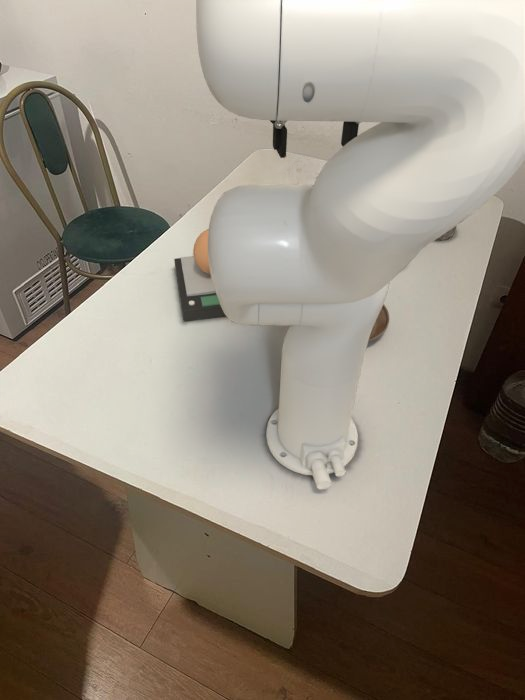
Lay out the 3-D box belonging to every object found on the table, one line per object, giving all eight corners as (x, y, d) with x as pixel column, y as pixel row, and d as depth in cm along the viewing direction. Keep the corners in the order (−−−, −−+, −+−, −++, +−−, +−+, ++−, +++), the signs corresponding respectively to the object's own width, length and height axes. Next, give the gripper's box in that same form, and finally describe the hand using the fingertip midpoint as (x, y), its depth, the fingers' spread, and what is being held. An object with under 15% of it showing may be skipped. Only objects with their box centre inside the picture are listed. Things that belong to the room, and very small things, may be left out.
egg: (209, 288, 91) (205, 246, 85) (187, 268, 95) (183, 228, 89) (243, 274, 94) (242, 233, 88) (220, 255, 98) (218, 215, 92)
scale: (262, 312, 91) (263, 298, 89) (183, 322, 89) (181, 308, 87) (246, 261, 102) (245, 248, 100) (175, 269, 100) (173, 255, 98)
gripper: (260, 17, 57) (259, 167, 69) (407, 13, 59) (381, 158, 71) (248, 3, 62) (248, 145, 74) (383, 0, 65) (362, 137, 77)
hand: (314, 151), depth 73 cm, fingers open, 9 cm apart
